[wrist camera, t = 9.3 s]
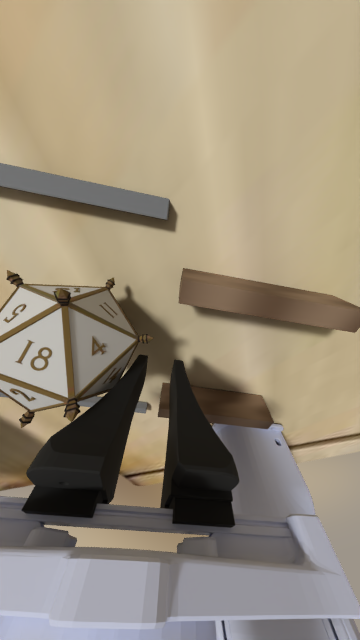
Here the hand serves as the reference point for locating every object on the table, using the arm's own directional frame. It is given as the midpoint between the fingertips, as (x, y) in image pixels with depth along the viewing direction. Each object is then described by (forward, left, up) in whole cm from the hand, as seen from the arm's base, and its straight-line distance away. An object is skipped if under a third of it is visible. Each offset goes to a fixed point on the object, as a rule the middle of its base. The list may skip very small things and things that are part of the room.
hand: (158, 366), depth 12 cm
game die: (+5, -3, -3) cm, 7 cm away
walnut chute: (-7, 0, -3) cm, 7 cm away
